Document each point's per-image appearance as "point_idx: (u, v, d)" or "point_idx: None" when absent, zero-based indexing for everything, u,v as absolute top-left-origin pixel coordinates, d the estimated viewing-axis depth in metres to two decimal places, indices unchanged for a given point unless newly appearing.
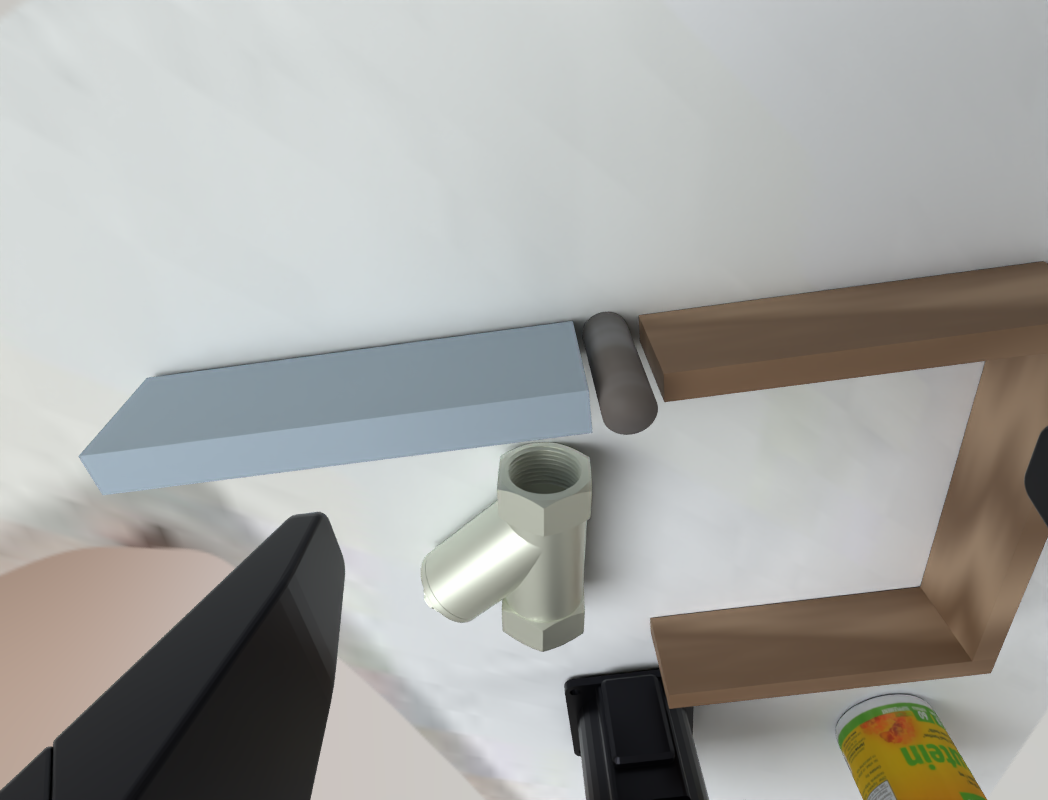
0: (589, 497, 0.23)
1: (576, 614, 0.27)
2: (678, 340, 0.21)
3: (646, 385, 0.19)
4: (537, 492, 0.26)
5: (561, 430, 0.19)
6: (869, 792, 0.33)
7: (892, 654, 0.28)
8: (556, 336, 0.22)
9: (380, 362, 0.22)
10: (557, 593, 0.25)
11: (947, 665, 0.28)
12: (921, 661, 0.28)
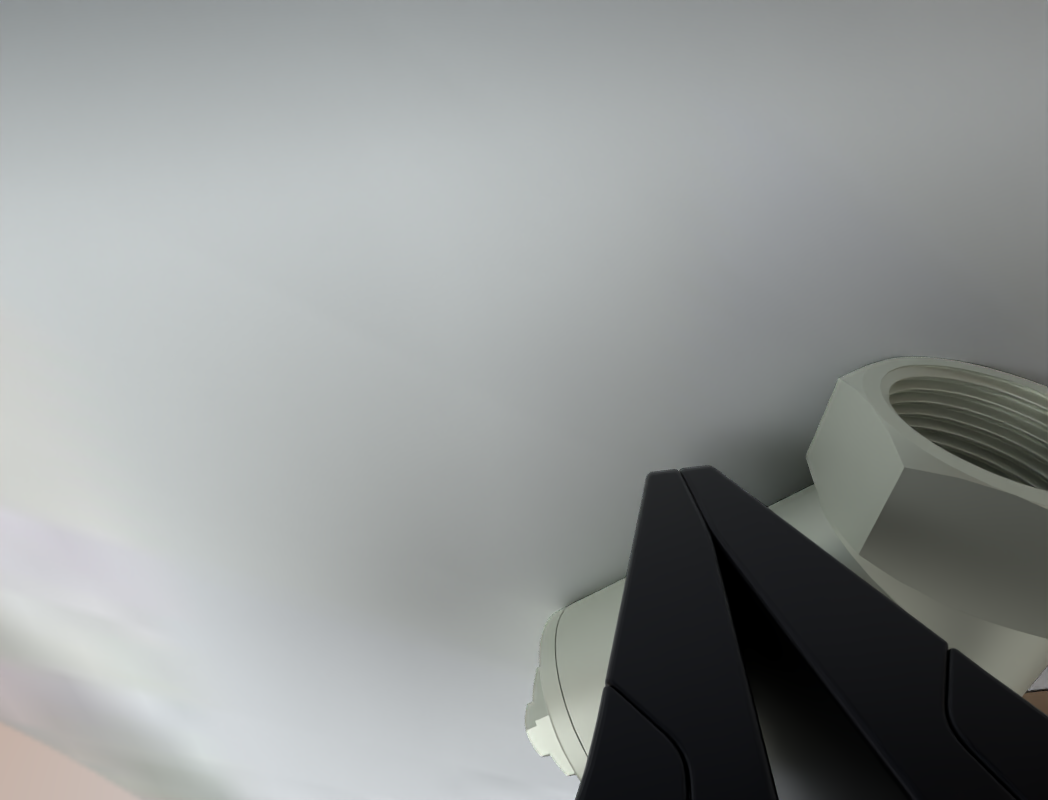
0: None
1: None
2: None
3: None
4: None
5: None
6: None
7: None
8: None
9: None
10: None
11: None
12: None
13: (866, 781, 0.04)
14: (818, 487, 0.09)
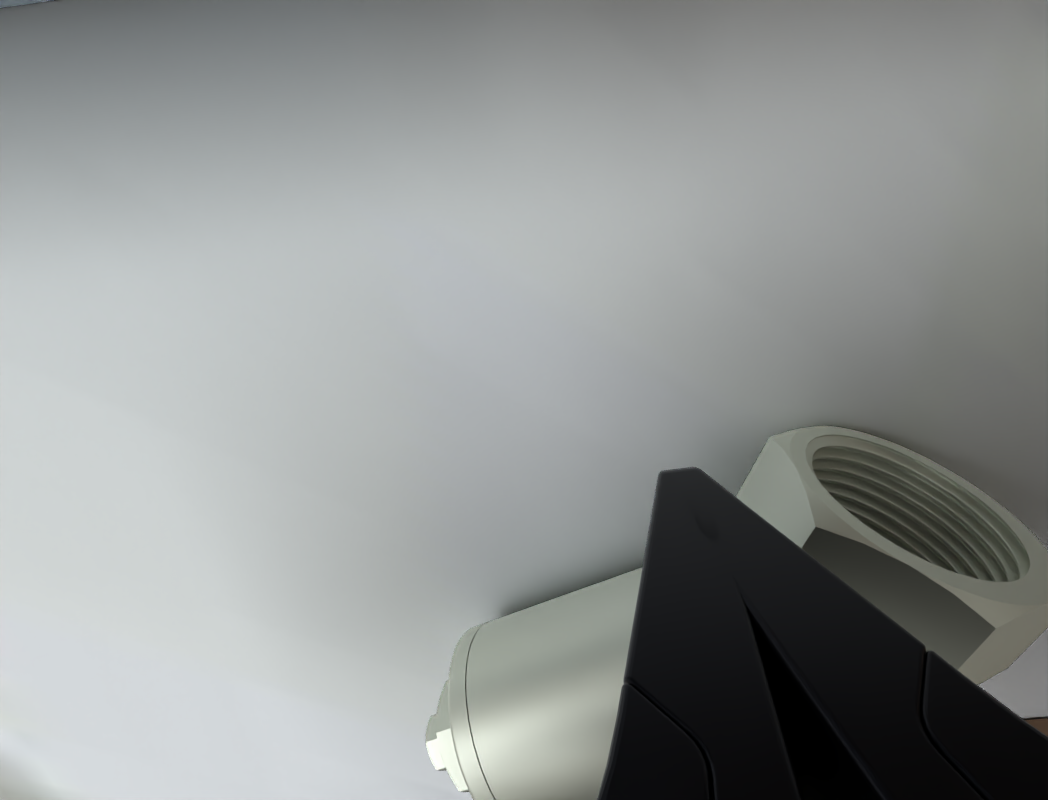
0: None
1: None
2: None
3: None
4: None
5: None
6: None
7: None
8: None
9: None
10: None
11: None
12: None
13: (841, 783, 0.04)
14: None
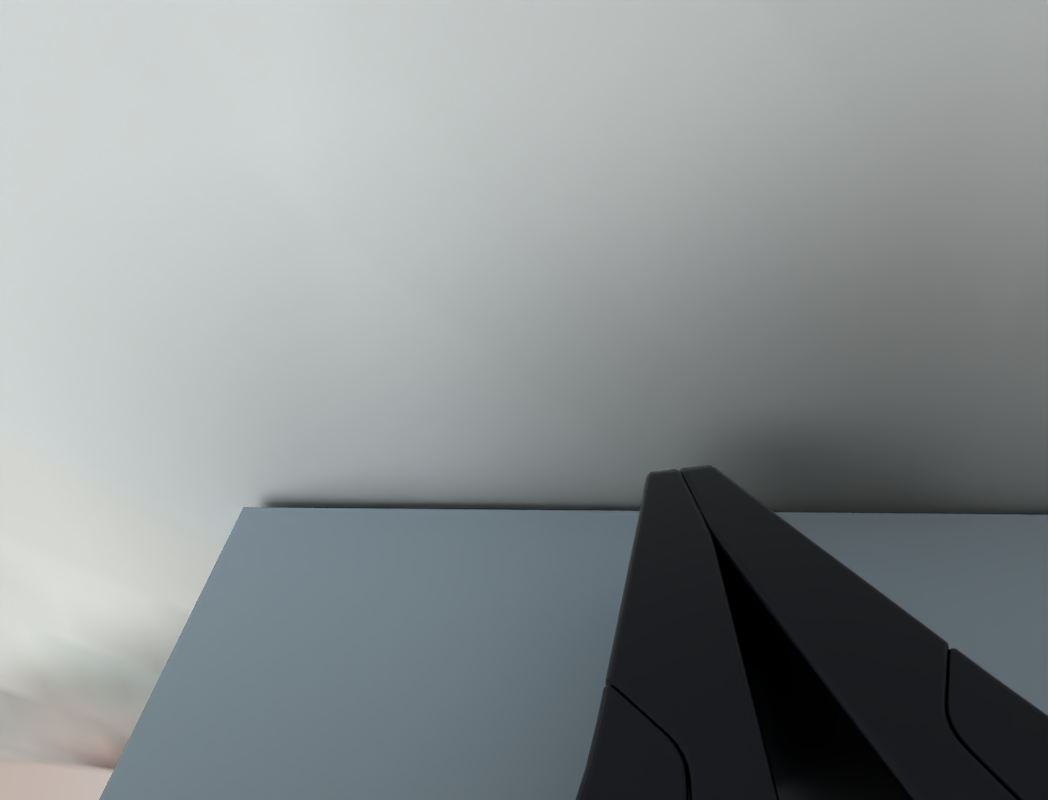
0: None
1: None
2: None
3: None
4: None
5: None
6: None
7: None
8: None
9: None
10: None
11: None
12: None
13: (867, 781, 0.04)
14: None
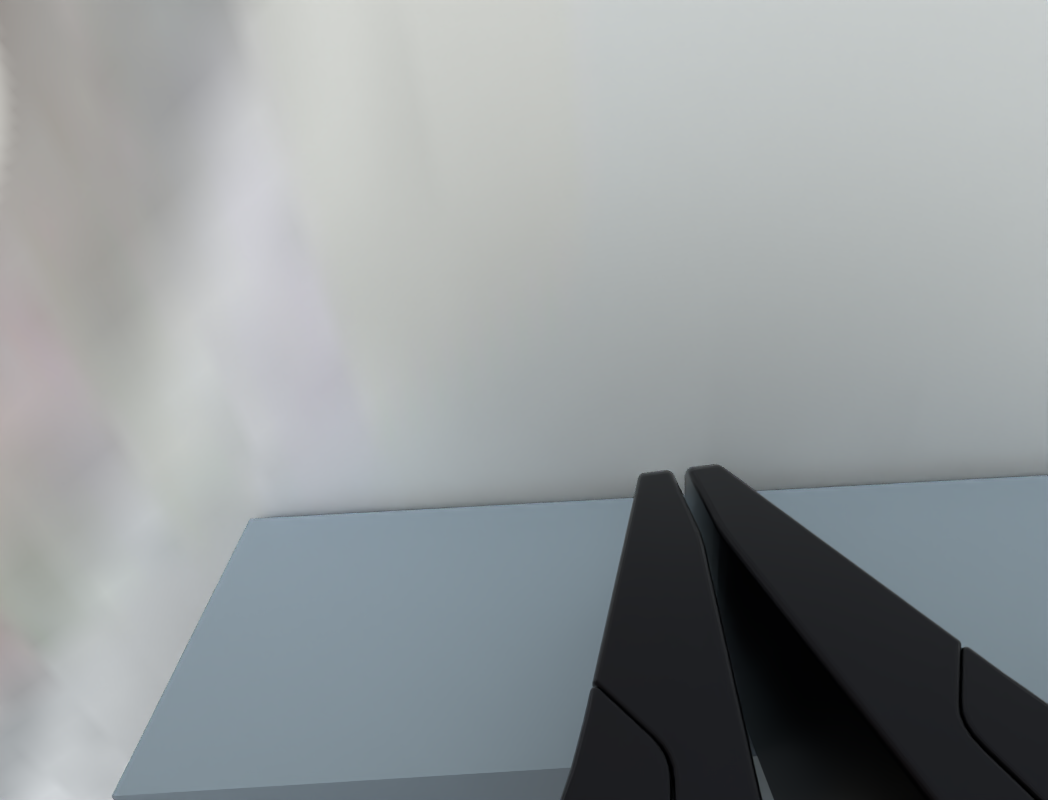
0: None
1: None
2: None
3: None
4: None
5: None
6: None
7: None
8: None
9: None
10: None
11: None
12: None
13: (880, 779, 0.04)
14: None
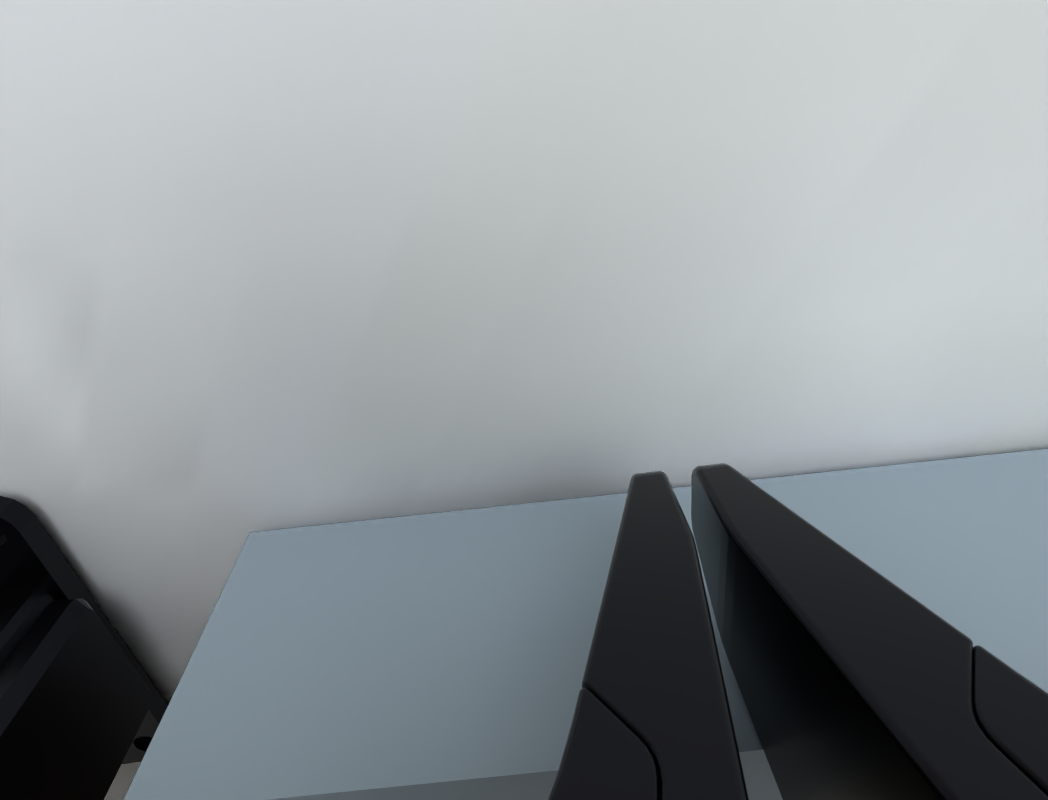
0: None
1: None
2: None
3: None
4: None
5: None
6: None
7: None
8: None
9: None
10: None
11: None
12: None
13: (894, 778, 0.04)
14: None
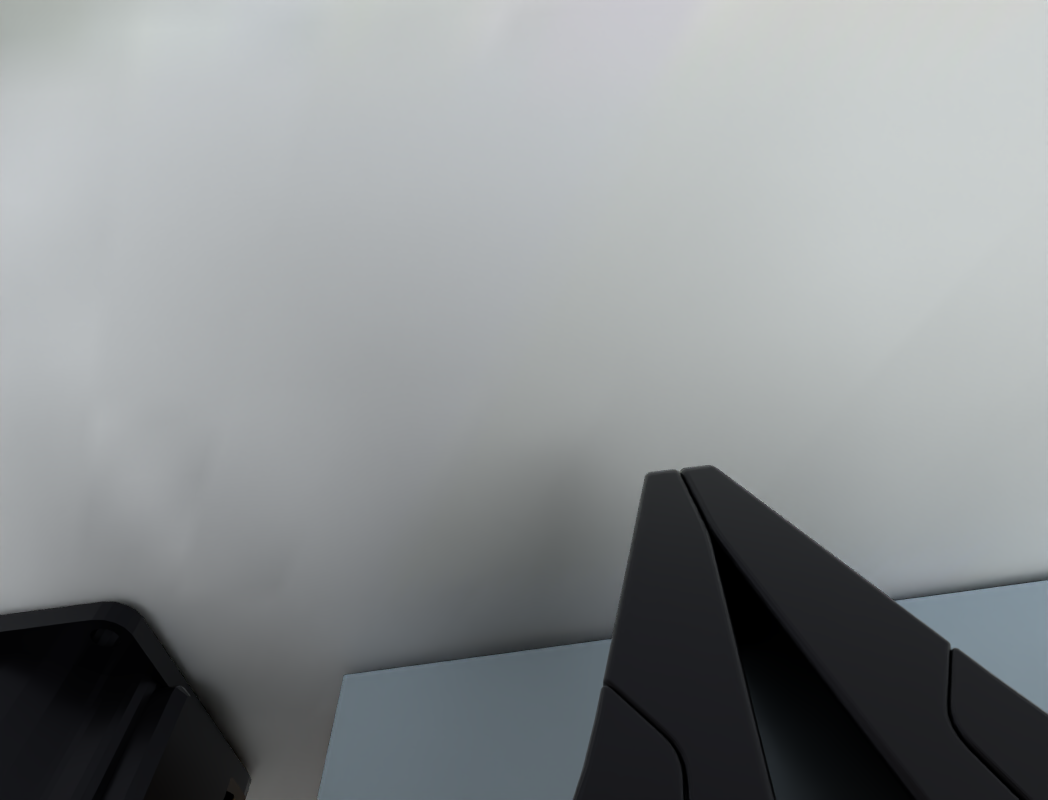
0: None
1: None
2: None
3: None
4: None
5: None
6: None
7: None
8: None
9: None
10: None
11: None
12: None
13: (869, 780, 0.04)
14: None
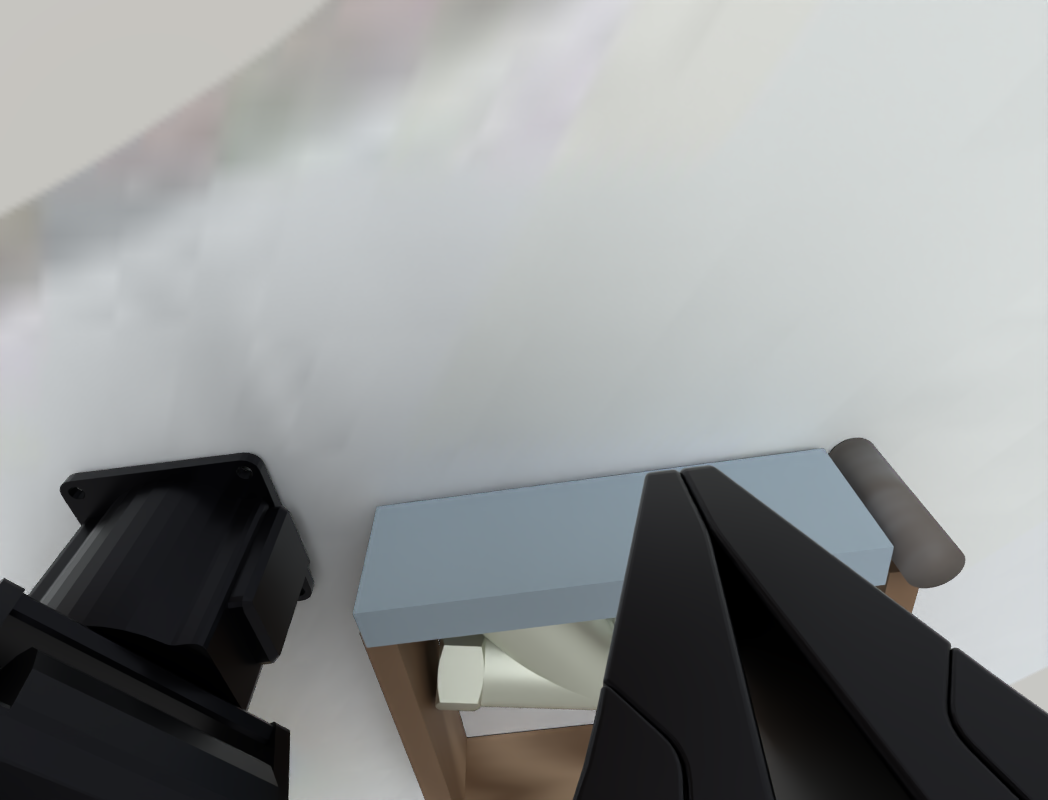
0: None
1: (476, 709, 0.24)
2: None
3: None
4: None
5: None
6: None
7: (451, 776, 0.26)
8: (816, 469, 0.21)
9: (633, 496, 0.21)
10: (524, 705, 0.24)
11: None
12: None
13: (869, 781, 0.04)
14: None
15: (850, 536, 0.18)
